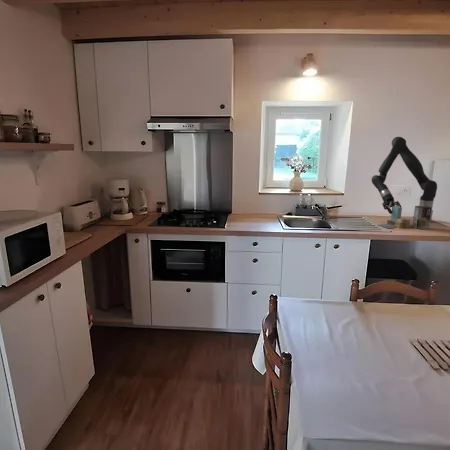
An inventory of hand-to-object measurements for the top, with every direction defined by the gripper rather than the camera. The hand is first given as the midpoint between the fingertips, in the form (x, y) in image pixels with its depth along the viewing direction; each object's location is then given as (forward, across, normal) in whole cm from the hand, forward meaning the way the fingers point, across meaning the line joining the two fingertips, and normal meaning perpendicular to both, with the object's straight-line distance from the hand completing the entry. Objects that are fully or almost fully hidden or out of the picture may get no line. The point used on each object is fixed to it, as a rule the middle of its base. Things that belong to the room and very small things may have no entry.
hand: (395, 213), depth 248 cm
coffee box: (+16, +11, -3) cm, 20 cm away
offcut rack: (+9, 0, +4) cm, 10 cm away
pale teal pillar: (+7, 0, +6) cm, 9 cm away
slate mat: (+10, -11, +3) cm, 15 cm away
